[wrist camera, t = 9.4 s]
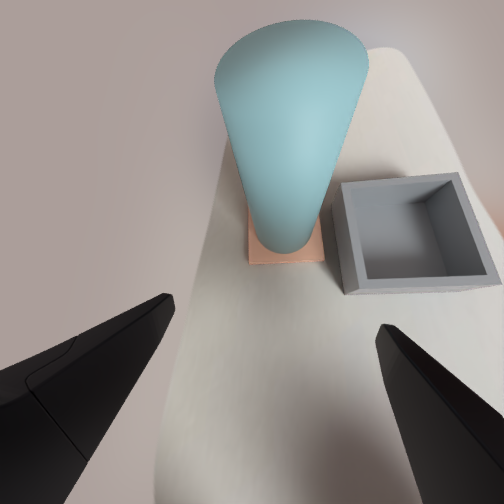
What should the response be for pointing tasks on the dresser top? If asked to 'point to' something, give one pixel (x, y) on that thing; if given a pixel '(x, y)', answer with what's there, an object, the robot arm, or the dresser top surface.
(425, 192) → the slate tray
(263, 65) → the teal post
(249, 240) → the terracotta coaster
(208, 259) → the dresser top surface
